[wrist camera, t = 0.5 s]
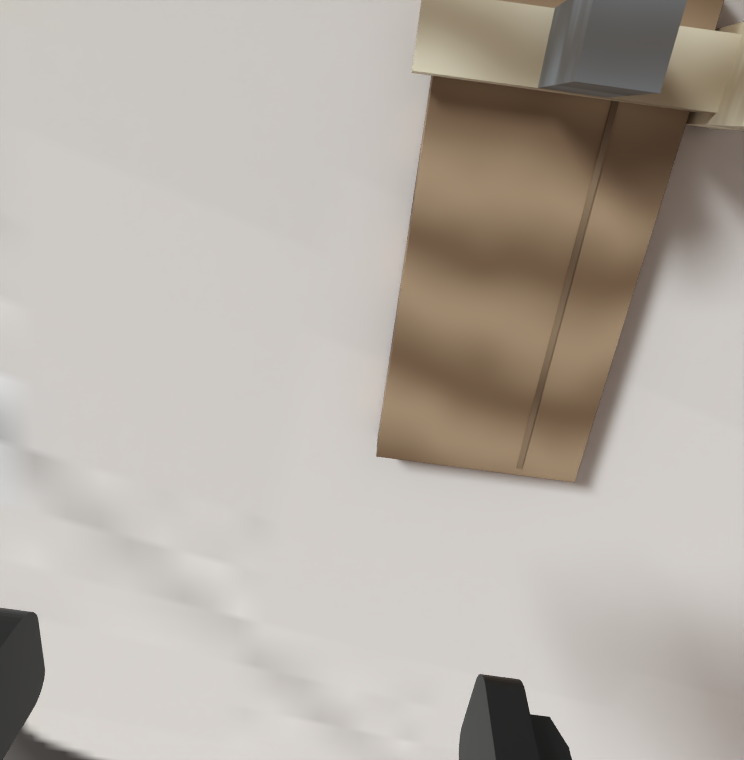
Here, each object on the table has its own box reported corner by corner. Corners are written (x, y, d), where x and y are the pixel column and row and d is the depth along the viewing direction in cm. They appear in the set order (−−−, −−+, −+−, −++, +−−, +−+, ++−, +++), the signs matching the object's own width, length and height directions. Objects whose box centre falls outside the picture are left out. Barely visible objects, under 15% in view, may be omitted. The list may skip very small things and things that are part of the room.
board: (450, -56, 27) (454, -69, 26) (711, -20, 28) (734, -30, 26) (377, 439, 38) (376, 457, 36) (566, 464, 38) (574, 483, 36)
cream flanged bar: (422, -9, 28) (432, -64, 19) (749, 37, 28) (905, 3, 20) (409, 86, 30) (413, 75, 21) (719, 129, 30) (850, 135, 21)
